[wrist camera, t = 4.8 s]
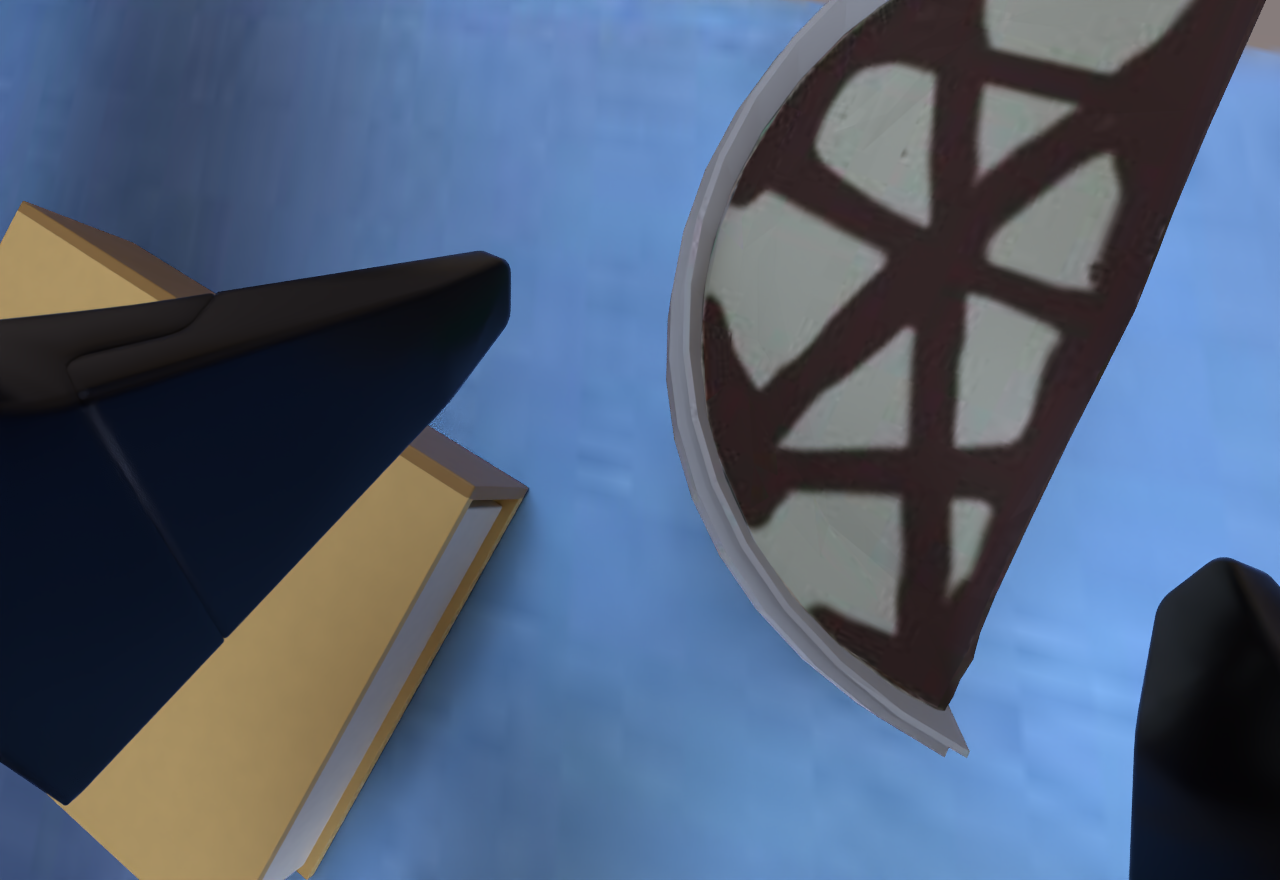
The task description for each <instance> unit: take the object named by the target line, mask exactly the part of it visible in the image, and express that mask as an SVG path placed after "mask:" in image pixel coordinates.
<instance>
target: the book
mask: <svg viewBox="0 0 1280 880" xmlns="http://www.w3.org/2000/svg"><path fill="white" fill-rule="evenodd" d="M207 293H212V294H214V295H216V294H215V293H213V292H212V291H210V290H209V289H207V288H205V287H204V286H202V285H200V284H199V283H197V282H196V281H194V280H192V279H191V278H189V277H188V276H186V275H184V274H183V273H181V272H179V271H178V270H176V269H175V268H173V267H171V266H170V265H168V264H167V263H165V262H163V261H162V260H160V259H158V258H157V257H155V256H154V255H152V254H150V253H149V252H147V251H146V250H144V249H142V248H141V247H139V246H137V245H136V244H134V243H132V242H130V241H127V240H124V239H122V238H119V237H117V236H114V235H111V234H109V233H106V232H104V231H101V230H98V229H96V228H93V227H91V226H88V225H85V224H83V223H80V222H78V221H75V220H72V219H70V218H67V217H65V216H62V215H59V214H57V213H54V212H52V211H49V210H46V209H44V208H41V207H39V206H36V205H33V204H31V203H28V202H26V201H23V202H22V203H21V205H20V207H19V209H18V211H17V213H16V214H15V216H14V218H13V220H12V222H11V224H10V226H9V228H8V230H7V232H6V234H5V236H4V238H3V240H2V242H1V244H0V319H8V318H18V317H27V316H37V315H46V314H56V313H65V312H75V311H83V310H92V309H100V308H109V307H118V306H126V305H134V304H141V303H148V302H155V301H162V300H169V299H176V298H182V297H189V296H195V295H201V294H207ZM527 490H528V487H527V486H525V485H524V484H522V483H520V482H519V481H517V480H515V479H514V478H512V477H511V476H509V475H507V474H506V473H504V472H503V471H501V470H499V469H498V468H496V467H494V466H493V465H491V464H490V463H488V462H486V461H485V460H483V459H482V458H480V457H478V456H477V455H475V454H473V453H472V452H470V451H469V450H467V449H465V448H464V447H462V446H461V445H459V444H457V443H456V442H454V441H452V440H451V439H449V438H448V437H446V436H444V435H443V434H441V433H440V432H438V431H436V430H435V429H433V428H431V427H430V426H427V427H426V428H425V429H424V430H423V431H422V432H421V433H420V434H419V435H418V436H417V437H416V438H415V439H414V440H413V442H412V443H411V444H410V445H409V446H408V447H407V448H406V449H405V450H404V451H403V452H402V453H401V454H400V455H399V456H398V457H397V459H396V460H395V461H394V462H393V463H392V464H391V465H390V466H389V467H388V468H387V469H386V470H385V471H384V472H383V473H382V474H381V475H380V477H379V478H378V479H377V480H376V481H375V482H374V483H373V484H372V485H371V486H370V487H369V488H368V489H367V490H366V491H365V492H364V494H363V495H362V496H361V497H360V498H359V499H358V500H357V501H356V502H355V503H354V504H353V505H352V506H351V507H350V508H349V509H348V510H347V512H346V513H345V514H344V515H343V516H342V517H341V518H340V519H339V520H338V521H337V522H336V523H335V524H334V525H333V526H332V527H331V529H330V530H329V531H328V532H327V533H326V534H325V535H324V536H323V537H322V538H321V539H320V540H319V541H318V542H317V543H316V544H315V545H314V547H313V548H312V549H311V550H310V551H309V552H308V553H307V554H306V555H305V556H304V557H303V558H302V559H301V560H300V561H299V562H298V564H297V565H296V566H295V567H294V568H293V569H292V570H291V571H290V572H289V573H288V574H287V575H286V576H285V577H284V578H283V579H282V580H281V582H280V583H279V584H278V585H277V586H276V587H275V588H274V589H273V590H272V591H271V592H270V593H269V594H268V595H267V596H266V597H265V598H264V600H263V601H262V602H261V603H260V604H259V605H258V606H257V607H256V608H255V609H254V610H253V611H252V612H251V613H250V614H249V615H248V617H247V618H246V619H245V620H244V621H243V622H242V623H241V624H240V625H239V626H238V627H237V628H236V629H235V630H234V631H233V632H232V633H231V635H230V636H229V637H227V638H224V643H223V644H222V645H221V646H220V647H219V648H218V649H217V650H216V651H215V652H214V653H213V654H212V655H211V656H210V657H209V658H208V660H207V661H206V662H205V663H204V664H203V665H202V666H201V667H200V668H199V669H198V670H197V671H196V672H195V673H194V674H193V675H192V676H191V678H190V679H189V680H188V681H187V682H186V683H185V684H184V685H183V686H182V687H181V688H180V689H179V690H178V691H177V692H176V693H175V694H174V696H173V697H172V698H171V699H170V700H169V701H168V702H167V703H166V704H165V705H164V706H163V707H162V708H161V709H160V710H159V711H158V712H157V714H156V715H155V716H154V717H153V718H152V719H151V720H150V721H149V722H148V723H147V724H146V725H145V726H144V727H143V728H142V729H141V730H140V732H139V733H138V734H137V735H136V736H135V737H134V738H133V739H132V740H131V741H130V742H129V743H128V744H127V745H126V746H125V747H124V749H123V750H122V751H121V752H120V753H119V754H118V755H117V756H116V757H115V758H114V759H113V760H112V761H111V762H110V763H109V764H108V765H107V767H106V768H105V769H104V770H103V771H102V772H101V773H100V774H99V775H98V776H97V777H96V778H95V779H94V780H93V781H92V782H91V784H90V785H89V786H88V787H87V788H86V789H85V790H84V791H83V792H82V793H81V794H80V795H79V796H77V797H76V798H75V799H74V800H73V801H72V802H71V803H70V804H68V805H67V806H64V805H63V804H61V803H60V802H58V801H57V800H55V799H54V798H52V797H51V796H50V795H49V796H50V797H51V798H52V799H53V800H54V801H55V802H56V803H57V804H58V805H59V806H60V807H61V808H63V809H64V810H65V811H66V812H67V813H68V814H69V815H70V816H71V817H72V818H73V819H74V820H76V821H77V822H78V823H79V824H80V825H81V826H82V827H83V828H84V829H85V830H86V831H87V832H88V833H90V834H91V835H92V836H93V837H94V838H95V839H96V840H97V841H98V842H99V843H100V844H101V845H102V846H104V847H105V848H106V849H107V850H108V851H109V852H110V853H111V854H112V855H113V856H114V857H115V858H116V859H118V860H119V861H120V862H121V863H122V864H123V865H124V866H125V867H126V868H127V869H128V870H129V871H130V872H132V873H133V874H134V875H135V876H136V877H137V878H138V879H139V880H285V879H286V878H287V877H289V876H290V875H291V874H292V873H294V872H295V871H297V872H298V873H299V874H301V875H302V876H303V877H304V878H305V879H309V878H310V877H311V876H313V875H314V873H315V871H316V869H317V868H318V866H319V864H320V862H321V860H322V859H323V857H324V855H325V853H326V851H327V850H328V848H329V846H330V844H331V842H332V841H333V839H334V837H335V835H336V833H337V832H338V830H339V828H340V826H341V824H342V823H343V821H344V819H345V817H346V816H347V814H348V812H349V810H350V808H351V807H352V805H353V803H354V801H355V799H356V798H357V796H358V794H359V792H360V790H361V789H362V787H363V785H364V783H365V781H366V780H367V778H368V776H369V774H370V772H371V771H372V769H373V767H374V765H375V763H376V762H377V760H378V758H379V756H380V754H381V753H382V751H383V749H384V747H385V746H386V744H387V742H388V740H389V738H390V737H391V735H392V733H393V731H394V729H395V728H396V726H397V724H398V722H399V720H400V719H401V717H402V715H403V713H404V711H405V710H406V708H407V706H408V704H409V702H410V701H411V699H412V697H413V695H414V693H415V692H416V690H417V688H418V686H419V684H420V683H421V681H422V679H423V677H424V675H425V674H426V672H427V670H428V668H429V667H430V665H431V663H432V661H433V659H434V658H435V656H436V654H437V652H438V650H439V649H440V647H441V645H442V643H443V641H444V640H445V638H446V636H447V634H448V632H449V631H450V629H451V627H452V625H453V623H454V622H455V620H456V618H457V616H458V614H459V613H460V611H461V609H462V607H463V605H464V604H465V602H466V600H467V598H468V597H469V595H470V593H471V591H472V589H473V588H474V586H475V584H476V582H477V580H478V579H479V577H480V575H481V573H482V571H483V570H484V568H485V566H486V564H487V562H488V561H489V559H490V557H491V555H492V553H493V552H494V550H495V548H496V546H497V544H498V543H499V541H500V539H501V537H502V535H503V534H504V532H505V530H506V528H507V527H508V525H509V523H510V521H511V519H512V518H513V516H514V514H515V512H516V510H517V509H518V507H519V505H520V503H521V501H522V500H523V498H524V496H525V494H526V492H527ZM46 794H47V793H46ZM47 795H48V794H47Z"/></svg>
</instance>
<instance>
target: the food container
mask: <svg viewBox="0 0 1280 880" xmlns="http://www.w3.org/2000/svg"><path fill="white" fill-rule="evenodd" d="M1265 1H1266V0H829V1H828V2H827V3H826V4H825V5H824V6H823V7H822V8H821V9H820V10H819V11H818V12H817V13H816V14H815V15H814V16H813V17H812V18H811V19H810V20H809V21H808V23H807V24H806V25H805V26H804V27H803V28H802V29H801V30H800V31H799V32H798V33H797V34H796V35H795V36H794V37H793V38H792V39H791V41H790V42H789V43H788V45H787V46H786V47H785V49H784V50H783V51H782V52H781V53H780V54H779V55H778V56H777V57H776V59H775V60H774V62H773V63H772V64H771V66H770V67H769V68H768V70H767V71H766V72H765V74H764V75H763V76H762V78H761V79H760V80H759V82H758V83H757V84H756V86H755V87H754V89H753V90H752V91H751V93H750V94H749V95H748V97H747V98H746V99H745V101H744V102H743V103H742V105H741V106H740V107H739V109H738V110H737V112H736V113H735V115H734V117H733V119H732V121H731V123H730V125H729V127H728V128H727V130H726V132H725V134H724V136H723V138H722V140H721V141H720V143H719V145H718V147H717V149H716V151H715V153H714V155H713V156H712V158H711V160H710V162H709V164H708V166H707V168H706V169H705V172H704V175H703V178H702V181H701V183H700V186H699V189H698V192H697V195H696V197H695V200H694V203H693V206H692V209H691V211H690V214H689V217H688V220H687V223H686V225H685V228H684V231H683V236H682V241H681V247H680V252H679V257H678V262H677V268H676V273H675V278H674V283H673V289H672V294H671V301H670V308H669V315H668V330H667V371H666V381H667V389H668V396H669V404H670V411H671V419H672V426H673V433H674V440H675V443H676V447H677V450H678V453H679V457H680V460H681V463H682V467H683V470H684V473H685V477H686V480H687V483H688V487H689V490H690V494H691V497H692V499H693V501H694V504H695V506H696V508H697V510H698V512H699V514H700V516H701V518H702V520H703V522H704V524H705V527H706V529H707V531H708V533H709V535H710V537H711V539H712V541H713V543H714V545H715V548H716V550H717V552H718V554H719V556H720V557H721V559H722V560H723V561H724V563H725V564H726V566H727V567H728V569H729V570H730V572H731V573H732V575H733V576H734V578H735V579H736V581H737V582H738V583H739V585H740V586H741V588H742V589H743V591H744V592H745V594H746V595H747V597H748V598H749V600H750V601H751V603H752V604H753V605H754V607H755V608H756V610H757V611H758V612H759V613H760V614H761V615H762V616H763V617H764V618H765V619H766V620H767V622H768V623H769V624H770V625H771V626H772V627H773V628H774V629H775V630H776V631H777V632H778V633H779V635H780V636H781V637H782V638H783V639H784V640H785V641H786V642H787V643H788V644H789V645H790V646H791V647H792V649H793V650H794V651H795V652H796V653H797V654H798V655H799V656H800V657H801V658H802V659H803V660H804V661H805V662H807V663H808V664H809V665H810V666H812V667H813V668H814V669H815V670H816V671H818V672H819V673H820V674H821V675H823V676H824V677H825V678H826V679H828V680H829V681H830V682H831V683H833V684H834V685H835V686H836V687H838V688H839V689H840V690H841V691H843V692H844V693H845V694H846V695H848V696H849V697H850V698H851V699H852V700H854V701H855V702H856V703H857V704H859V705H860V706H862V707H864V708H865V709H867V710H868V711H870V712H871V713H873V714H874V715H876V716H877V717H879V718H881V719H882V720H884V721H886V722H887V723H889V724H890V725H892V726H894V727H895V728H897V729H899V730H900V731H902V732H904V733H905V734H907V735H909V736H910V737H912V738H913V739H915V740H917V741H918V742H920V743H922V744H923V745H925V746H927V747H928V748H930V749H932V750H933V751H935V752H937V753H938V754H940V755H941V756H943V757H945V755H946V753H947V751H948V748H951V749H952V750H954V751H956V752H957V753H959V754H961V755H962V756H964V757H966V758H967V757H968V754H969V752H970V751H969V749H968V747H967V745H966V742H965V740H964V738H963V736H962V734H961V732H960V729H959V727H958V725H957V723H956V721H955V719H954V716H953V714H952V712H951V710H950V708H949V706H948V704H949V703H950V701H951V699H952V698H953V696H954V693H955V691H956V689H957V686H958V684H959V681H960V679H961V678H962V676H963V674H964V673H965V671H966V670H967V668H968V667H969V665H970V663H971V662H972V660H973V658H974V654H975V650H976V646H977V642H978V639H979V635H980V632H981V629H982V627H983V625H984V622H985V620H986V617H987V615H988V612H989V610H990V607H991V605H992V603H993V600H994V598H995V595H996V593H997V591H998V589H999V587H1000V585H1001V583H1002V580H1003V578H1004V576H1005V574H1006V572H1007V570H1008V568H1009V565H1010V563H1011V561H1012V559H1013V557H1014V555H1015V553H1016V550H1017V548H1018V546H1019V544H1020V542H1021V540H1022V538H1023V535H1024V533H1025V531H1026V529H1027V527H1028V525H1029V523H1030V520H1031V518H1032V516H1033V514H1034V512H1035V510H1036V508H1037V506H1038V504H1039V502H1040V500H1041V497H1042V495H1043V493H1044V491H1045V489H1046V487H1047V485H1048V483H1049V481H1050V479H1051V477H1052V475H1053V473H1054V470H1055V468H1056V466H1057V464H1058V462H1059V460H1060V458H1061V456H1062V454H1063V452H1064V450H1065V448H1066V446H1067V443H1068V441H1069V439H1070V437H1071V435H1072V434H1073V432H1074V430H1075V428H1076V426H1077V424H1078V422H1079V420H1080V418H1081V416H1082V414H1083V412H1084V410H1085V408H1086V406H1087V404H1088V402H1089V400H1090V398H1091V396H1092V394H1093V393H1094V391H1095V389H1096V387H1097V385H1098V383H1099V381H1100V379H1101V377H1102V375H1103V373H1104V371H1105V369H1106V367H1107V365H1108V363H1109V361H1110V359H1111V357H1112V355H1113V353H1114V351H1115V349H1116V347H1117V345H1118V343H1119V341H1120V339H1121V337H1122V335H1123V333H1124V331H1125V329H1126V327H1127V325H1128V323H1129V321H1130V319H1131V317H1132V315H1133V313H1134V311H1135V309H1136V307H1137V304H1138V302H1139V299H1140V297H1141V294H1142V292H1143V289H1144V287H1145V284H1146V282H1147V279H1148V277H1149V274H1150V271H1151V269H1152V266H1153V264H1154V261H1155V259H1156V256H1157V254H1158V251H1159V249H1160V246H1161V243H1162V241H1163V238H1164V235H1165V233H1166V230H1167V227H1168V225H1169V222H1170V219H1171V217H1172V214H1173V212H1174V210H1175V207H1176V205H1177V202H1178V200H1179V198H1180V195H1181V193H1182V190H1183V188H1184V186H1185V183H1186V181H1187V178H1188V176H1189V174H1190V171H1191V169H1192V166H1193V164H1194V162H1195V159H1196V157H1197V154H1198V152H1199V149H1200V147H1201V145H1202V142H1203V140H1204V137H1205V135H1206V133H1207V130H1208V128H1209V126H1210V124H1211V121H1212V119H1213V117H1214V115H1215V112H1216V110H1217V108H1218V106H1219V104H1220V101H1221V99H1222V97H1223V95H1224V92H1225V90H1226V88H1227V86H1228V84H1229V81H1230V79H1231V77H1232V75H1233V72H1234V70H1235V68H1236V66H1237V64H1238V61H1239V59H1240V57H1241V55H1242V52H1243V50H1244V48H1245V46H1246V43H1247V41H1248V39H1249V37H1250V35H1251V32H1252V30H1253V28H1254V26H1255V24H1256V21H1257V19H1258V17H1259V15H1260V12H1261V10H1262V8H1263V5H1264V3H1265Z"/></svg>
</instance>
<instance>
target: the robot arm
mask: <svg viewBox="0 0 1280 880" xmlns="http://www.w3.org/2000/svg"><path fill="white" fill-rule="evenodd" d="M510 311H511V270H510V266H509V264H508V263H507V261H506V260H504V259H502V258H499V257H497V256H495V255H492V254H490V253H487V252H485V251H474V252H468V253H462V254H455V255H449V256H443V257H436V258H430V259H424V260H417V261H411V262H405V263H398V264H392V265H386V266H379V267H373V268H367V269H360V270H354V271H348V272H341V273H335V274H329V275H322V276H316V277H310V278H303V279H297V280H291V281H284V282H278V283H272V284H265V285H259V286H253V287H246V288H240V289H234V290H228V291H221V292H218V293H216V295H214V294H212V293H207V294H201V295H195V296H189V297H182V298H176V299H169V300H162V301H155V302H148V303H141V304H134V305H126V306H118V307H109V308H100V309H92V310H83V311H75V312H65V313H56V314H46V315H37V316H27V317H18V318H8V319H0V762H1V763H2V764H4V765H5V766H7V767H8V768H10V769H11V770H13V771H14V772H16V773H17V774H19V775H20V776H22V777H23V778H24V779H26V780H27V781H29V782H30V783H32V784H33V785H35V786H36V787H38V788H39V789H41V790H42V791H44V792H45V793H47V794H48V795H50V796H51V797H52V798H54V799H55V800H57V801H58V802H60V803H61V804H63V805H64V806H67V805H68V804H70V803H71V802H72V801H73V800H74V799H75V798H76V797H77V796H79V795H80V794H81V793H82V792H83V791H84V790H85V789H86V788H87V787H88V786H89V785H90V784H91V782H92V781H93V780H94V779H95V778H96V777H97V776H98V775H99V774H100V773H101V772H102V771H103V770H104V769H105V768H106V767H107V765H108V764H109V763H110V762H111V761H112V760H113V759H114V758H115V757H116V756H117V755H118V754H119V753H120V752H121V751H122V750H123V749H124V747H125V746H126V745H127V744H128V743H129V742H130V741H131V740H132V739H133V738H134V737H135V736H136V735H137V734H138V733H139V732H140V730H141V729H142V728H143V727H144V726H145V725H146V724H147V723H148V722H149V721H150V720H151V719H152V718H153V717H154V716H155V715H156V714H157V712H158V711H159V710H160V709H161V708H162V707H163V706H164V705H165V704H166V703H167V702H168V701H169V700H170V699H171V698H172V697H173V696H174V694H175V693H176V692H177V691H178V690H179V689H180V688H181V687H182V686H183V685H184V684H185V683H186V682H187V681H188V680H189V679H190V678H191V676H192V675H193V674H194V673H195V672H196V671H197V670H198V669H199V668H200V667H201V666H202V665H203V664H204V663H205V662H206V661H207V660H208V658H209V657H210V656H211V655H212V654H213V653H214V652H215V651H216V650H217V649H218V648H219V647H220V646H221V645H222V644H223V643H224V638H227V637H229V636H230V635H231V633H232V632H233V631H234V630H235V629H236V628H237V627H238V626H239V625H240V624H241V623H242V622H243V621H244V620H245V619H246V618H247V617H248V615H249V614H250V613H251V612H252V611H253V610H254V609H255V608H256V607H257V606H258V605H259V604H260V603H261V602H262V601H263V600H264V598H265V597H266V596H267V595H268V594H269V593H270V592H271V591H272V590H273V589H274V588H275V587H276V586H277V585H278V584H279V583H280V582H281V580H282V579H283V578H284V577H285V576H286V575H287V574H288V573H289V572H290V571H291V570H292V569H293V568H294V567H295V566H296V565H297V564H298V562H299V561H300V560H301V559H302V558H303V557H304V556H305V555H306V554H307V553H308V552H309V551H310V550H311V549H312V548H313V547H314V545H315V544H316V543H317V542H318V541H319V540H320V539H321V538H322V537H323V536H324V535H325V534H326V533H327V532H328V531H329V530H330V529H331V527H332V526H333V525H334V524H335V523H336V522H337V521H338V520H339V519H340V518H341V517H342V516H343V515H344V514H345V513H346V512H347V510H348V509H349V508H350V507H351V506H352V505H353V504H354V503H355V502H356V501H357V500H358V499H359V498H360V497H361V496H362V495H363V494H364V492H365V491H366V490H367V489H368V488H369V487H370V486H371V485H372V484H373V483H374V482H375V481H376V480H377V479H378V478H379V477H380V475H381V474H382V473H383V472H384V471H385V470H386V469H387V468H388V467H389V466H390V465H391V464H392V463H393V462H394V461H395V460H396V459H397V457H398V456H399V455H400V454H401V453H402V452H403V451H404V450H405V449H406V448H407V447H408V446H409V445H410V444H411V443H412V442H413V440H414V439H415V438H416V437H417V436H418V435H419V434H420V433H421V432H422V431H423V430H424V429H425V428H426V427H427V426H428V425H429V424H430V422H431V421H432V420H433V419H434V418H435V417H436V416H437V415H438V414H439V413H440V412H441V411H442V409H443V408H444V407H445V406H446V405H447V404H448V403H449V402H450V400H451V399H452V398H453V397H454V395H455V394H456V393H457V392H458V390H459V389H460V388H461V386H462V385H463V384H464V382H465V381H466V380H467V378H468V377H469V376H470V374H471V373H472V371H473V370H474V369H475V367H476V366H477V365H478V363H479V362H480V361H481V359H482V358H483V357H484V355H485V354H486V353H487V351H488V350H489V349H490V347H491V346H492V345H493V343H494V342H495V341H496V339H497V338H498V337H499V335H500V334H501V333H502V331H503V330H504V328H505V327H506V325H507V323H508V320H509V317H510ZM1129 880H1280V587H1279V585H1278V584H1277V583H1276V582H1275V581H1274V580H1273V579H1272V578H1271V577H1270V576H1269V575H1268V574H1266V573H1265V572H1263V571H1261V570H1258V569H1256V568H1253V567H1251V566H1249V565H1246V564H1244V563H1241V562H1239V561H1236V560H1234V559H1231V558H1227V557H1221V558H1217V559H1214V560H1212V561H1210V562H1209V563H1207V564H1206V565H1205V566H1203V567H1202V568H1201V569H1199V570H1198V571H1197V572H1195V573H1194V574H1193V575H1192V576H1190V577H1189V578H1188V579H1186V580H1185V581H1184V582H1183V583H1181V584H1180V585H1179V586H1177V587H1176V588H1175V589H1173V590H1172V591H1171V592H1170V593H1168V594H1167V595H1166V596H1165V597H1164V599H1163V600H1162V601H1161V603H1160V605H1159V606H1158V609H1157V611H1156V615H1155V620H1154V626H1153V631H1152V637H1151V642H1150V648H1149V654H1148V659H1147V665H1146V670H1145V676H1144V681H1143V687H1142V692H1141V698H1140V703H1139V709H1138V716H1137V723H1136V730H1135V744H1134V765H1133V791H1132V817H1131V844H1130V870H1129Z"/></svg>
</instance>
